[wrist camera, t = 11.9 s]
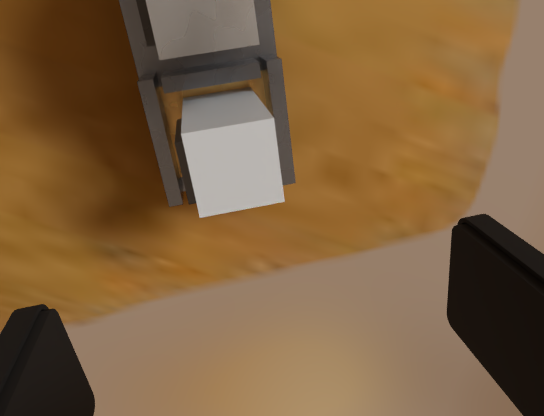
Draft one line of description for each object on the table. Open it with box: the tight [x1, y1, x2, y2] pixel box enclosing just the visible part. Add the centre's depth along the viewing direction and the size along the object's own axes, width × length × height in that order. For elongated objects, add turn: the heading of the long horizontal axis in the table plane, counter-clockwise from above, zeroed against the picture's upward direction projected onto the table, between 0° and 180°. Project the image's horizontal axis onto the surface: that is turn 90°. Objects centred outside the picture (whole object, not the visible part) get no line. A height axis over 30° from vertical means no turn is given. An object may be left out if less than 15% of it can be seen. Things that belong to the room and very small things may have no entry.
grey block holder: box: [119, 0, 295, 207], centre depth 22 cm, size 17×8×10 cm, turn 8°
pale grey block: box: [175, 87, 285, 218], centre depth 23 cm, size 4×4×8 cm
